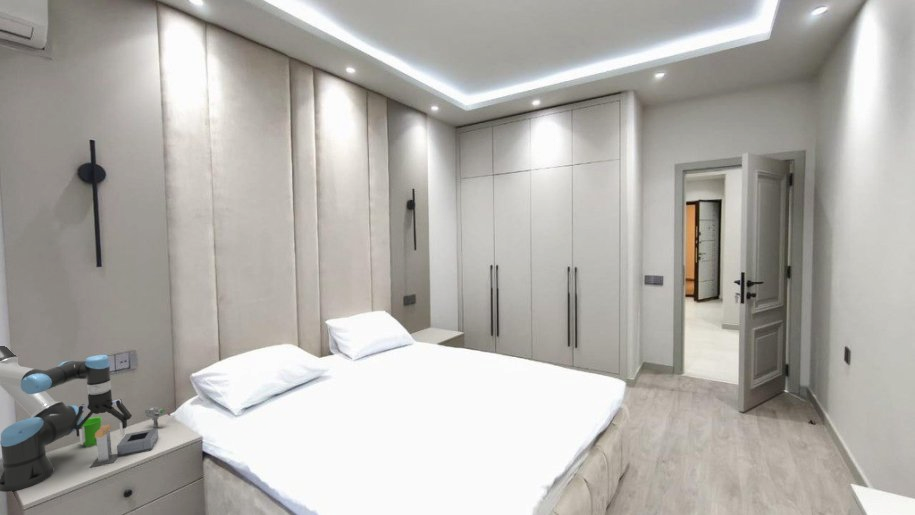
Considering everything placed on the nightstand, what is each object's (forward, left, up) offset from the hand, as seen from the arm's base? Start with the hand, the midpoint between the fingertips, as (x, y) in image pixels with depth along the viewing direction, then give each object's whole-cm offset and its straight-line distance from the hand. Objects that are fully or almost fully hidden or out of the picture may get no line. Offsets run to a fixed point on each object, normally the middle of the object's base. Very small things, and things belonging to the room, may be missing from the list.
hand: (103, 439), depth 172 cm
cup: (-12, +22, -10) cm, 27 cm away
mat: (0, 0, -10) cm, 10 cm away
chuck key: (0, 0, -9) cm, 9 cm away
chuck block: (+10, +7, -10) cm, 16 cm away
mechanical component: (+12, +27, -10) cm, 31 cm away
